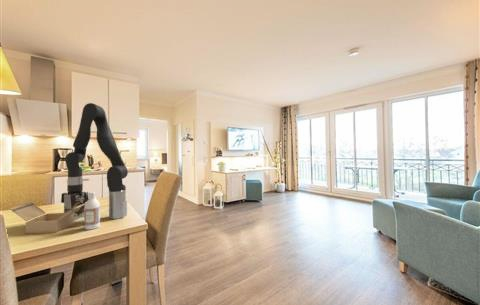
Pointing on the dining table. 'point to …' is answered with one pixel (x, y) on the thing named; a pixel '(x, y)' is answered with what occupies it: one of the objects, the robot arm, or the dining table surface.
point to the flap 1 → (27, 211)
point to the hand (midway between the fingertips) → (75, 209)
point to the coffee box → (73, 204)
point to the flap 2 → (73, 210)
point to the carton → (49, 223)
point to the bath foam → (92, 212)
